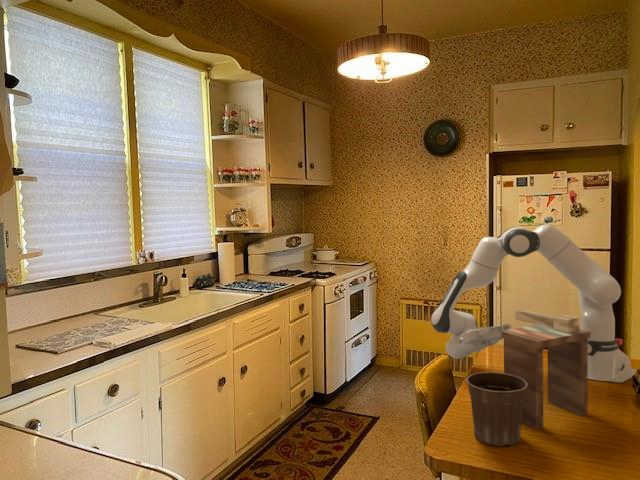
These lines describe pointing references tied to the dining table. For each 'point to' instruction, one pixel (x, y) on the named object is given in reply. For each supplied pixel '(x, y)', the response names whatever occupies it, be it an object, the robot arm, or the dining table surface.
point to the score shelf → (562, 368)
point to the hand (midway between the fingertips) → (499, 327)
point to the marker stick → (549, 320)
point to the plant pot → (497, 407)
